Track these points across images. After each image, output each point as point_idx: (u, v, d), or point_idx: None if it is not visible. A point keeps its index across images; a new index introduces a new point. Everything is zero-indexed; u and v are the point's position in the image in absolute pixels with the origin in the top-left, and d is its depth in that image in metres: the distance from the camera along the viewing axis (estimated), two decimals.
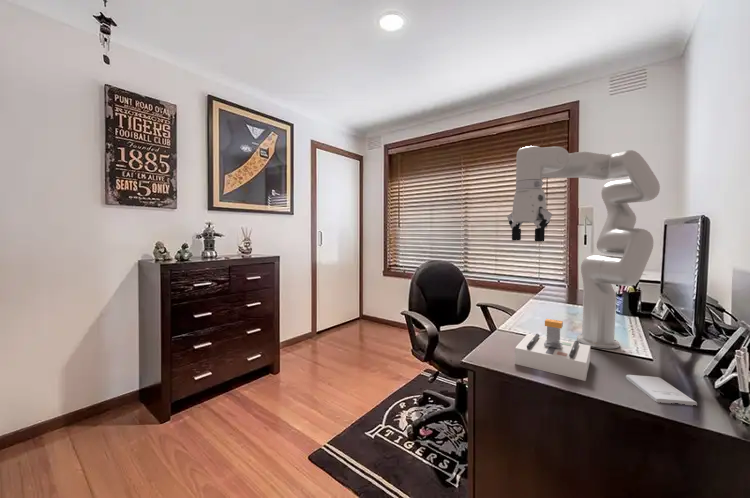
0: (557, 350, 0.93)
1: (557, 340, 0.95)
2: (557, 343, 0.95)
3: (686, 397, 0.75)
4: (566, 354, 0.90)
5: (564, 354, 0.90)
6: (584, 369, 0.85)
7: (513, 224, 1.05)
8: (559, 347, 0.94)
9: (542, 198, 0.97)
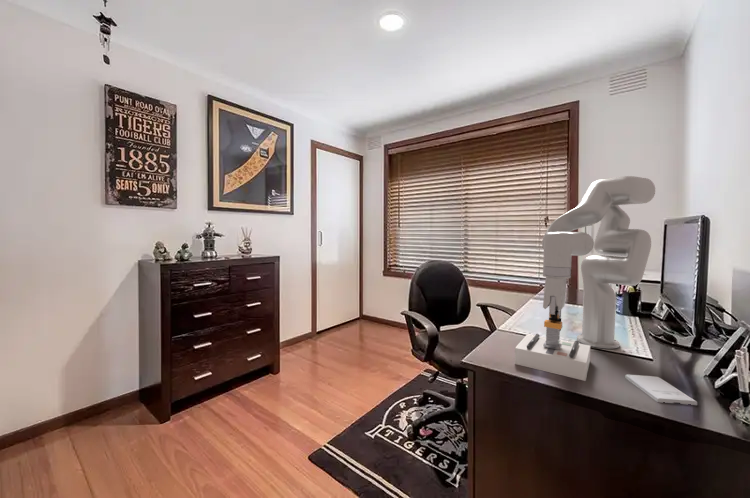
0: (557, 350, 0.93)
1: (556, 341, 0.94)
2: (556, 344, 0.94)
3: (686, 396, 0.75)
4: (566, 354, 0.90)
5: (564, 354, 0.90)
6: (584, 369, 0.85)
7: (559, 314, 0.97)
8: (558, 348, 0.93)
9: None
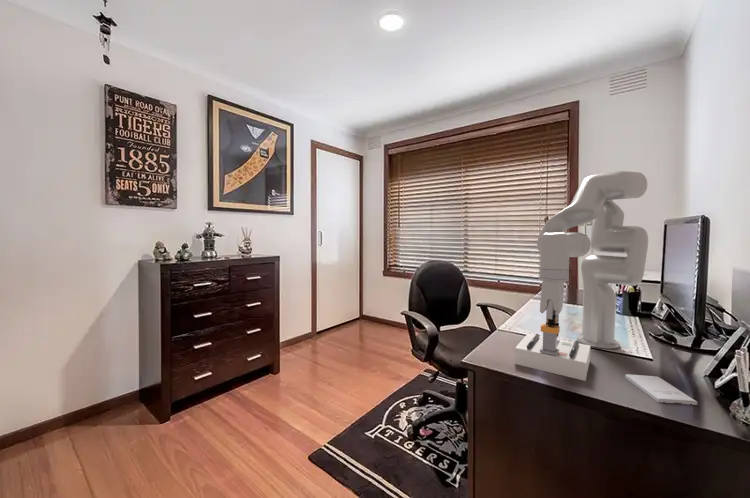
0: None
1: (554, 346, 0.90)
2: (554, 349, 0.90)
3: (686, 396, 0.75)
4: (566, 354, 0.90)
5: (564, 354, 0.90)
6: (584, 369, 0.85)
7: (557, 319, 0.93)
8: (556, 354, 0.89)
9: None
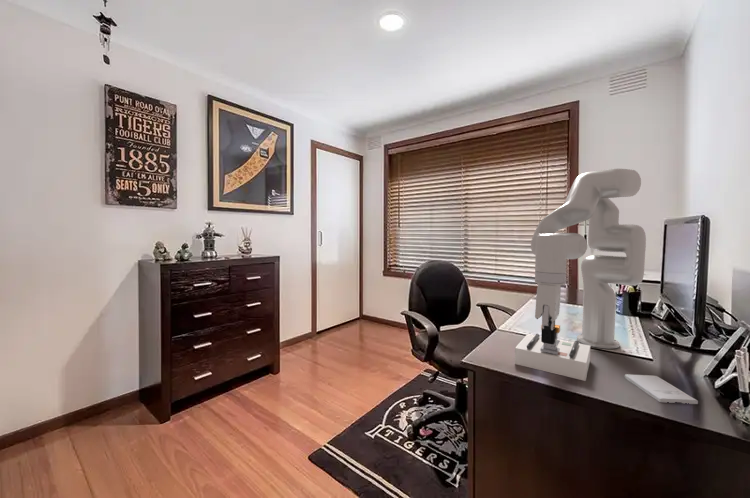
0: None
1: (554, 345, 0.90)
2: (554, 348, 0.90)
3: (687, 395, 0.75)
4: (566, 354, 0.90)
5: (564, 354, 0.90)
6: (584, 369, 0.85)
7: (553, 325, 0.87)
8: (556, 353, 0.90)
9: None
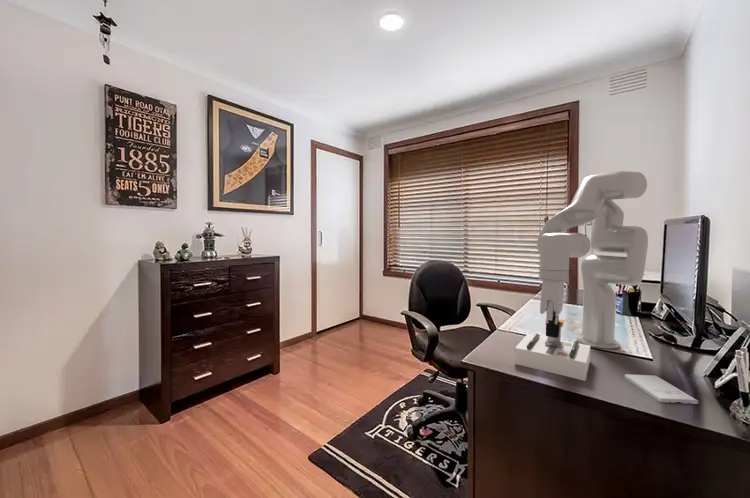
0: (557, 350, 0.93)
1: (558, 339, 0.96)
2: (558, 342, 0.96)
3: (687, 395, 0.75)
4: (566, 354, 0.90)
5: (564, 354, 0.90)
6: (584, 369, 0.85)
7: (557, 319, 0.93)
8: (560, 346, 0.95)
9: None
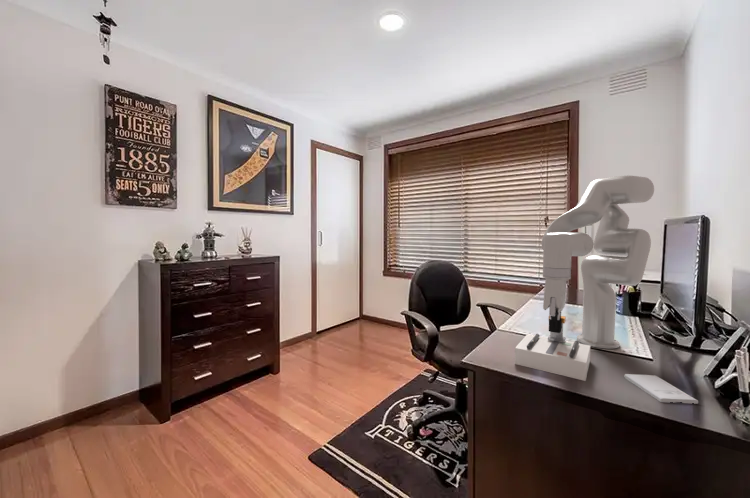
0: (557, 350, 0.93)
1: (560, 334, 1.00)
2: (560, 337, 1.00)
3: (687, 395, 0.76)
4: (566, 354, 0.90)
5: (564, 354, 0.90)
6: (584, 369, 0.85)
7: (560, 315, 0.97)
8: (562, 341, 0.99)
9: None
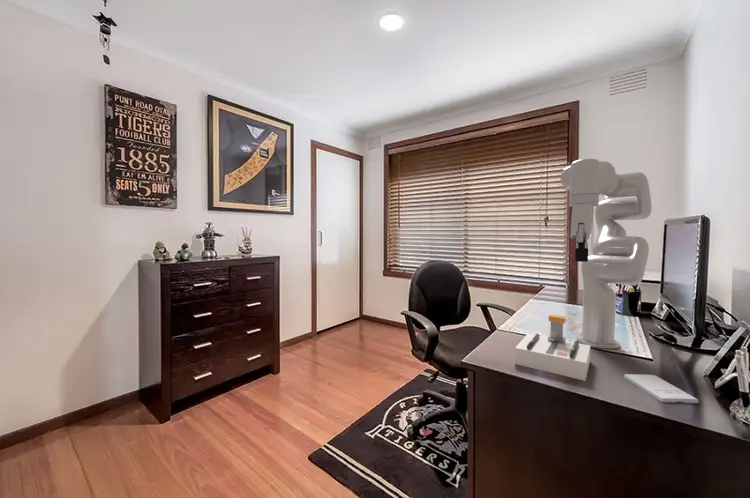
0: (557, 350, 0.93)
1: (560, 334, 1.00)
2: (560, 337, 1.00)
3: (687, 395, 0.76)
4: (566, 354, 0.90)
5: (564, 354, 0.90)
6: (584, 369, 0.85)
7: (587, 244, 0.95)
8: (562, 341, 0.99)
9: None
